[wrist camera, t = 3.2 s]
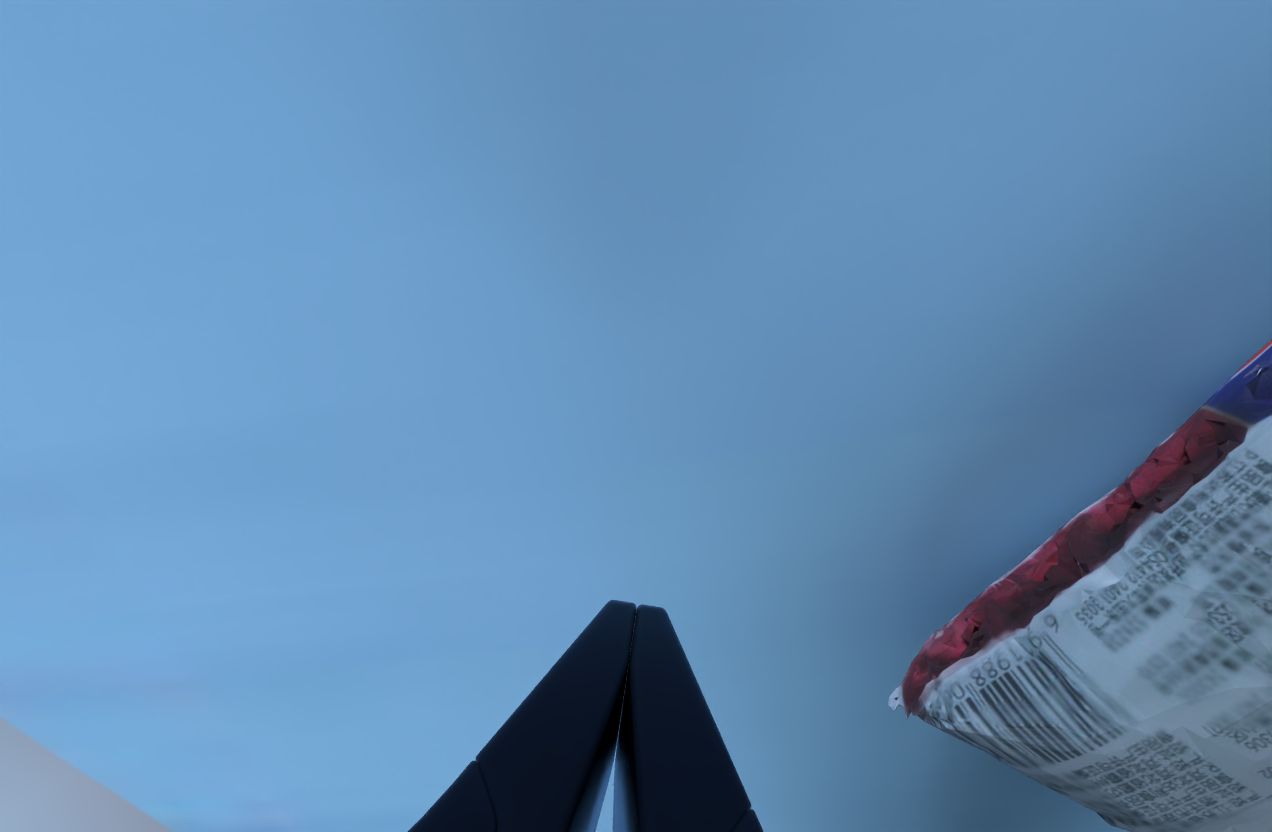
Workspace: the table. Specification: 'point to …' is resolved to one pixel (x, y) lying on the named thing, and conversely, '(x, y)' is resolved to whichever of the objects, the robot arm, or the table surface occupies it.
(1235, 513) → the packaged food
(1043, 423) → the table surface
